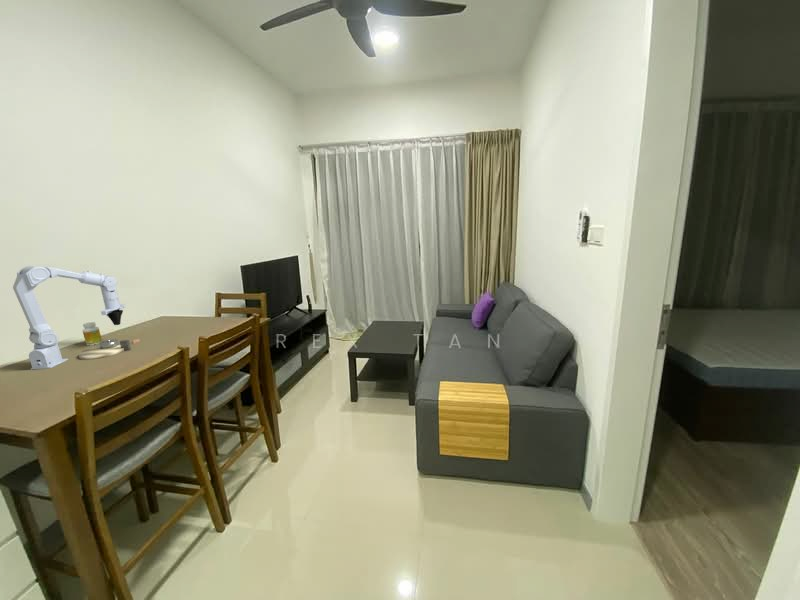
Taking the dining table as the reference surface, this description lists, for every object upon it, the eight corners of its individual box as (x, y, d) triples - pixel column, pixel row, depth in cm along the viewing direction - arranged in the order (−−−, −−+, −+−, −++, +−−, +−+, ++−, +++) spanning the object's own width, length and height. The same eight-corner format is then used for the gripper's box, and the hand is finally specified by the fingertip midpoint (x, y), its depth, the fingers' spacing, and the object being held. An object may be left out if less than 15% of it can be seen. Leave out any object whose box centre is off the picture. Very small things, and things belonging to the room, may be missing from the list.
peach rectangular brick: (133, 343, 168) (133, 341, 168) (132, 343, 168) (131, 340, 168) (140, 341, 171) (139, 339, 170) (138, 341, 171) (138, 338, 171)
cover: (113, 348, 158) (111, 341, 157) (96, 349, 156) (95, 343, 156) (122, 343, 164) (120, 337, 164) (106, 344, 163) (105, 338, 162)
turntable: (117, 357, 150) (115, 347, 149) (68, 361, 147) (65, 351, 146) (141, 343, 167) (138, 334, 166) (97, 347, 164) (95, 337, 163)
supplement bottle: (94, 345, 167) (89, 325, 164) (82, 346, 167) (77, 325, 164) (105, 341, 173) (100, 321, 170) (94, 341, 173) (89, 321, 170)
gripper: (110, 301, 157) (116, 328, 160) (129, 295, 171) (134, 320, 174) (93, 302, 156) (100, 329, 159) (114, 296, 170) (120, 321, 173)
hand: (117, 324), depth 167 cm, fingers closed
